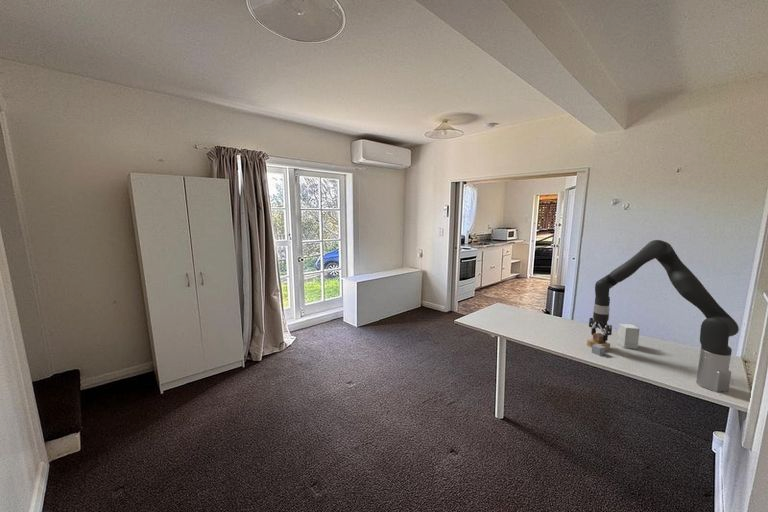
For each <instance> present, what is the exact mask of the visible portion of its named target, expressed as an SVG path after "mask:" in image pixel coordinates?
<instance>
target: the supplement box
mask: <svg viewBox="0 0 768 512" xmlns="http://www.w3.org/2000/svg"><path fill="white" fill-rule="evenodd" d="M639 337H640V328H639V327H637V326H635V325H634V324H629V323H627V324H626V323H618V334H617V341H616V342H617V344H618V345H620V346H621V347H622V348H625V349H635V350H636V349H637V350H638V348H639Z"/></svg>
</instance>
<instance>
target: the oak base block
mask: <svg viewBox="0 0 768 512" xmlns="http://www.w3.org/2000/svg"><path fill="white" fill-rule="evenodd" d="M595 344H598V343H596V342H594V341H593V338H591V339H587V340H586V347H589V348H591V349H592V345H595ZM599 345H601V346H604V347H606V348H605V351H609V350H611V349H610V348H611V343H610V342H607V341H606V343H603V344H599Z"/></svg>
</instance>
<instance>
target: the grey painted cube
mask: <svg viewBox="0 0 768 512" xmlns="http://www.w3.org/2000/svg"><path fill="white" fill-rule="evenodd" d="M605 348H606V347H604V346H601V345H599V344H595V345H592V348H591V354H594V355H597V356H599V357H600V356H604V355H606V350H605Z"/></svg>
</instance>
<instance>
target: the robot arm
mask: <svg viewBox="0 0 768 512" xmlns="http://www.w3.org/2000/svg"><path fill="white" fill-rule="evenodd" d="M655 259H656V261H657V262H658V263H660V265H661V266H662V267H663V268H664V271H666V274H667V277H668V279H669V281H670V283H671V284H672V286H673V287H674V289H675V290H676V291H677V292H678V294H679V295H680V296H681V297H682V298H683V299H685V300H686V301H687V302H689V303H691V304H692V305H693V306H695V308H697V309H698V310H699V311H700V312H701V313H702V315H704V317H705V319H704V320H703V321H702V322H701V325H700V331H699V333H700V334H699V342H700V353H699V360H698V366H697V375H696V380H695V381H696V384H697V385H698V386H700V387H702V388H705V389H707V390H710V391H712V392H713V391H714V392H716V393H720V392H721V391H723V392H729V390H730V383H731V379H732V378H731V377H732V371H730V364H731V359H732V351H733V349H732V348H731V347H730V346H729V339H730V337H733V336H735V335H737V334H738V333H739V330H740V328H739V324H738V323H737V321H736V320H734V318H733V317H732V316H730V315H729V314H728V312H726V310H724V308H722V306H721V305H720V304H719V303H718V302H717V301H716V299H715V298H714V297H713V296H712V295H711V294H710V292H709V291H708V290H707V289H706V287H705V286H704V285H703V284H702V282H701V281H700V280H699V279H698V277H697V276H696V275H695V274H694V273H693V272H692V271H691V270H690V269H689V267H687V266H686V265H685V263H683V261H682V260H681V259H680V257H679V255H678V254H677V253H676V251H675V249H674V248H673V246H672V245H671V244H670V243H669V242H666V241H664V240H662V239H655V240H651V241H649V242H648V243H647V244H646V245H645V246H643V247H642V248H641V249H640V250H639V251H638V252H637V253H635V254H634V255H633V256H632V257H631V258H630V259H628V260H627V261H625V262H624V263H622V264H620V265H619V266H618V267H617V268H615V269H613V270H612V271H611V272H610V273H609V274H607V275H605V276H604V277H602V278H600V279H599V280H597V281H596V282H595V284H594V285H595V286H594V295H595V297H594V305H593V313H592V317H589V319H588V320H589V322H588V327H589V328H590V329H591V332H590V333H591V336H593V334H594V333H597V329H599V330H600V331H601V332H602V334H603V341H606V342H607V341H608V337H609V336H612V331H613V325H611V324H608V322H609V321H610V310H611V309H610V301H611V298H610V289H612V288H613V287H615V286H616V285H618V284H619V283H621V282H623V281H625V280H626V279H628V278H629V277H631V276H632V275H634V274H635V273H636V272H637V271H638V270H639V269H640V268H642V266H644V265H646V264H647V263H649V262H651V261H652V260H655Z"/></svg>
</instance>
